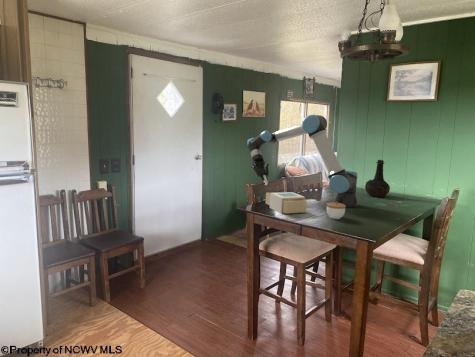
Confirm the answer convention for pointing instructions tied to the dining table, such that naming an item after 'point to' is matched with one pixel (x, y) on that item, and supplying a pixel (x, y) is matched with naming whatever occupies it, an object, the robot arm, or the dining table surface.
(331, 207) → the lidded jar
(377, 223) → the dining table surface
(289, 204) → the tray
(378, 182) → the glass bottle
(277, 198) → the cream box
